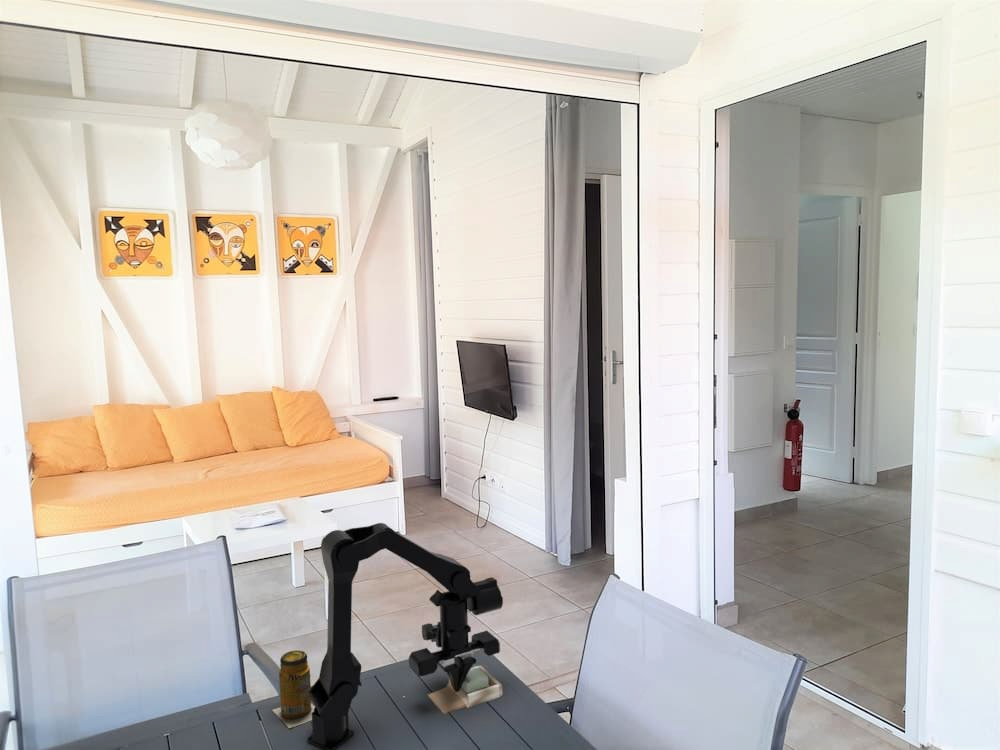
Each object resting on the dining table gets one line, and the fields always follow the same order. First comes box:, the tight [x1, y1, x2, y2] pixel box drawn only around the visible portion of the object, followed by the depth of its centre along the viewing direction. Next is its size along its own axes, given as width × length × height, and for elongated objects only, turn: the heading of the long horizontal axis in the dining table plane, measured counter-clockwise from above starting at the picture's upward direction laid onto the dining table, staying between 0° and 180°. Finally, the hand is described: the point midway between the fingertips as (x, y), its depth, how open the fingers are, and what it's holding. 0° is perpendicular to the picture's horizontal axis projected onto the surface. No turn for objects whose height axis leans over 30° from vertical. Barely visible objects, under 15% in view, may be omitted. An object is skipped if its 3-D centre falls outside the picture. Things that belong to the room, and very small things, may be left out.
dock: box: [427, 664, 503, 714], centre depth 153 cm, size 13×10×3 cm
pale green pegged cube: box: [461, 667, 489, 695], centre depth 154 cm, size 5×5×4 cm
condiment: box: [272, 650, 315, 729], centre depth 147 cm, size 7×8×12 cm
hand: (456, 690), depth 152 cm, fingers closed
